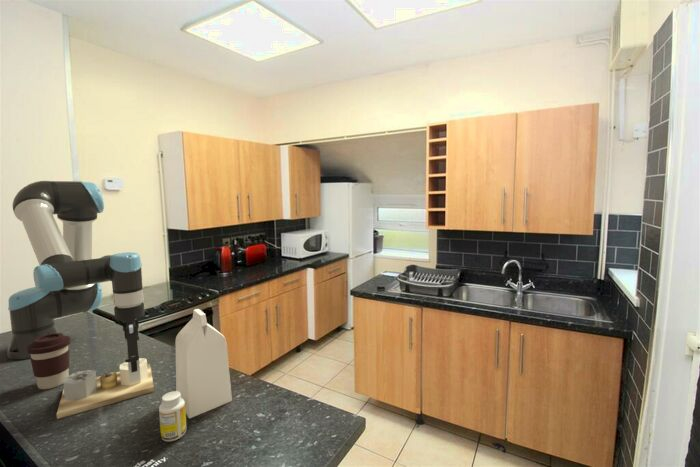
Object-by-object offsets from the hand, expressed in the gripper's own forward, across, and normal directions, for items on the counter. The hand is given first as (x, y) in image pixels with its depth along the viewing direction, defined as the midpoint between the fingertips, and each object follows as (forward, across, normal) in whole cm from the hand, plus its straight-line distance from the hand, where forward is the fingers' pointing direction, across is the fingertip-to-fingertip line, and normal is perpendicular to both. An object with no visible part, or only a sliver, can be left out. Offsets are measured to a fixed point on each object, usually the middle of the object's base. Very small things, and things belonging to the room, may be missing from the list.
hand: (134, 370), depth 103 cm
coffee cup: (+4, -14, -21) cm, 26 cm away
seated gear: (+3, 0, -13) cm, 13 cm away
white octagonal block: (+3, 0, 0) cm, 3 cm away
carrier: (+4, 0, -6) cm, 8 cm away
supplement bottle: (+4, +32, +7) cm, 33 cm away
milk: (+4, +20, +16) cm, 26 cm away
